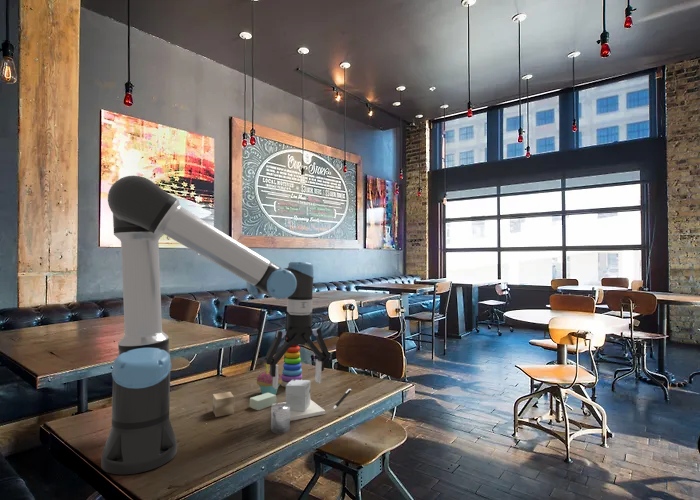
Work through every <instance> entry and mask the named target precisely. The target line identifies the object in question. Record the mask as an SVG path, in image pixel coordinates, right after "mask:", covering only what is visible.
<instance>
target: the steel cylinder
mask: <svg viewBox="0 0 700 500" xmlns="http://www.w3.org/2000/svg"><path fill="white" fill-rule="evenodd" d="M278 403H279V404H277V403H276V404H274V405H272V406H270V431H271V432H272V433H273V434H284V433H288V432H290V430H291V421H290V405H289V404H285V403H283V402H278Z"/></svg>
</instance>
